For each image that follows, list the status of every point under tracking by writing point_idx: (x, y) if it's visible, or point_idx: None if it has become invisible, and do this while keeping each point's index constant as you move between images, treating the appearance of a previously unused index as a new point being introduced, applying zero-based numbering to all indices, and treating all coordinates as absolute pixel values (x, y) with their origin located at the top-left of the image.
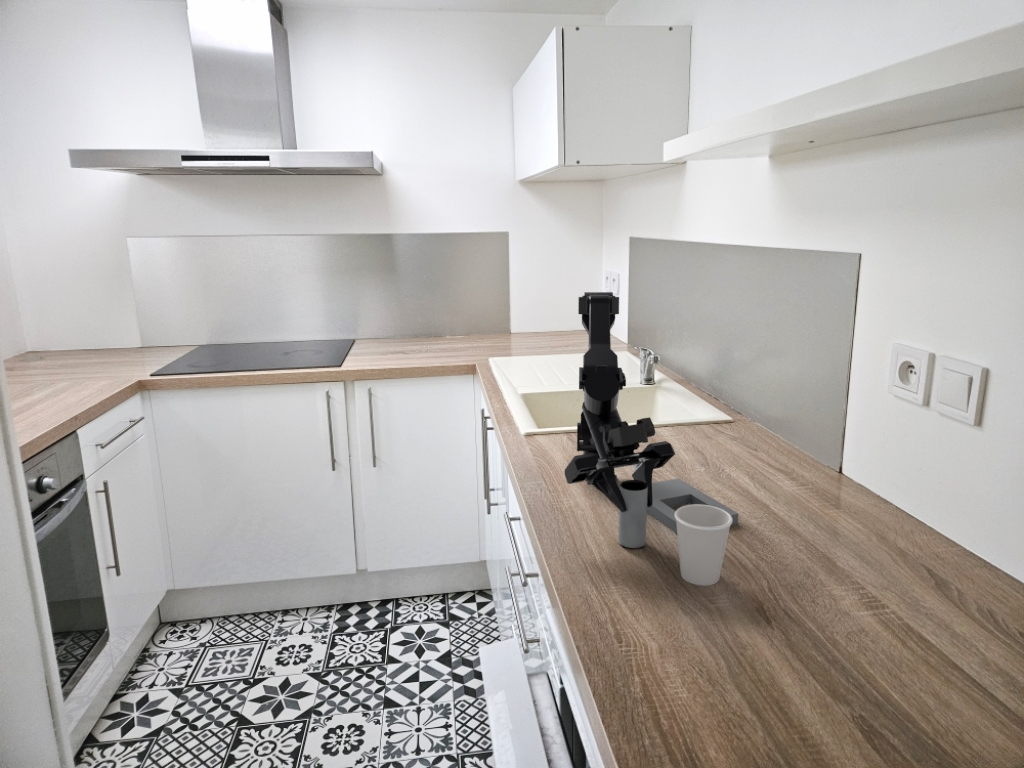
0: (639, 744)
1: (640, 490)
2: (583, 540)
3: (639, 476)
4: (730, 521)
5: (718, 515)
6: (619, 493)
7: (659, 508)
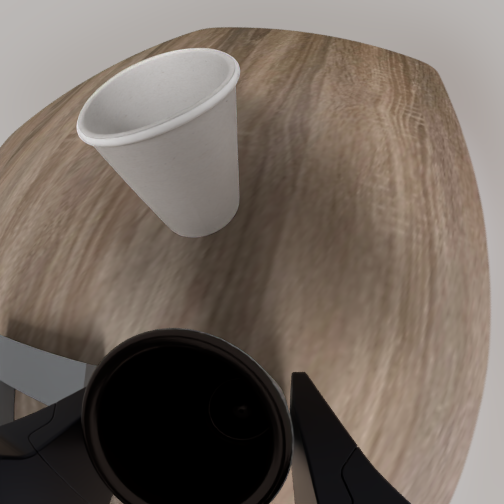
0: (422, 65)
1: (187, 329)
2: None
3: (65, 501)
4: (131, 66)
5: (95, 121)
6: (315, 434)
7: None
